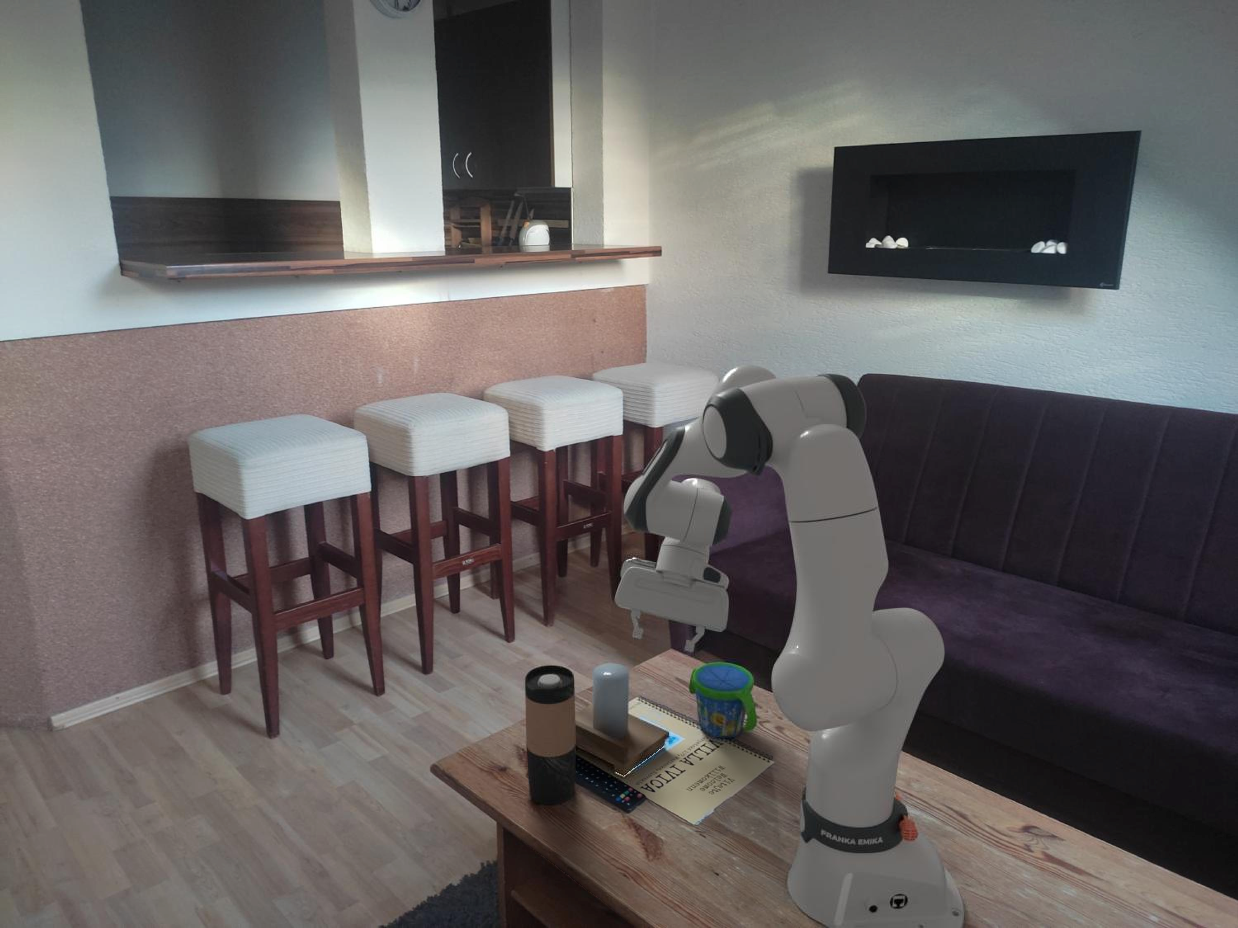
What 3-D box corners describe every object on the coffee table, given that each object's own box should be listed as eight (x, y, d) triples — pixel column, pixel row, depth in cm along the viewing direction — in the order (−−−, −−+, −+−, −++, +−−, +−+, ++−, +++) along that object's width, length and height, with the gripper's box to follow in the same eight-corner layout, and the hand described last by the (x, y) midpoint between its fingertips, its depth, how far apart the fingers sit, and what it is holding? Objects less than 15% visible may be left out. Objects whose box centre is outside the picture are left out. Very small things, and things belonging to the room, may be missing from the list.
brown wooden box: (597, 714, 162) (597, 684, 160) (668, 747, 152) (669, 715, 150) (551, 743, 153) (551, 712, 151) (624, 780, 143) (624, 747, 142)
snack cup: (772, 742, 154) (775, 689, 151) (721, 759, 149) (723, 705, 146) (720, 699, 167) (722, 650, 164) (672, 714, 162) (673, 663, 159)
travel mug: (579, 777, 144) (578, 665, 138) (572, 807, 137) (570, 691, 131) (532, 774, 145) (529, 663, 139) (523, 804, 137) (519, 688, 132)
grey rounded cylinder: (629, 721, 154) (630, 664, 151) (626, 741, 149) (627, 682, 145) (594, 719, 155) (594, 662, 152) (590, 739, 149) (591, 680, 146)
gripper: (623, 551, 159) (603, 627, 156) (736, 578, 155) (718, 657, 152) (627, 558, 165) (608, 631, 162) (736, 584, 161) (718, 660, 158)
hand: (662, 644), depth 157 cm, fingers open, 8 cm apart
